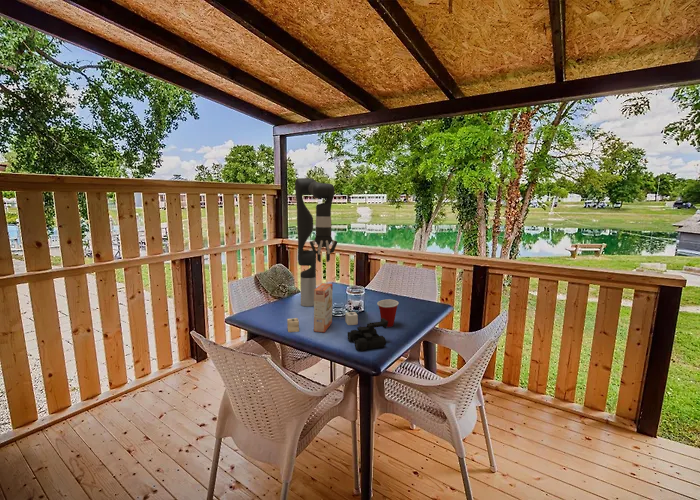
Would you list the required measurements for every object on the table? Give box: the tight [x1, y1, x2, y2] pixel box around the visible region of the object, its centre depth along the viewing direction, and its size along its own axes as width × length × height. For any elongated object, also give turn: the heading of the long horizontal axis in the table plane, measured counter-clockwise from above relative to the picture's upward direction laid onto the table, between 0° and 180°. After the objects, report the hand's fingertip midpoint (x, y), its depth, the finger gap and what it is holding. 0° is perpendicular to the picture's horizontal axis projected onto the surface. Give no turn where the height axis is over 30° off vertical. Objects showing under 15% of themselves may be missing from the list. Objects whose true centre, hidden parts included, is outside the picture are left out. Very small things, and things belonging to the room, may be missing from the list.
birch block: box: [286, 317, 300, 333], centre depth 157 cm, size 5×5×5 cm
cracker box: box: [313, 282, 334, 333], centre depth 160 cm, size 14×6×21 cm, turn 168°
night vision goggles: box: [347, 317, 388, 352], centre depth 143 cm, size 14×16×10 cm
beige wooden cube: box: [345, 311, 359, 326], centre depth 167 cm, size 5×5×5 cm
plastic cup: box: [377, 299, 399, 328], centre depth 164 cm, size 11×11×12 cm
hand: (323, 261), depth 156 cm, fingers open, 3 cm apart
